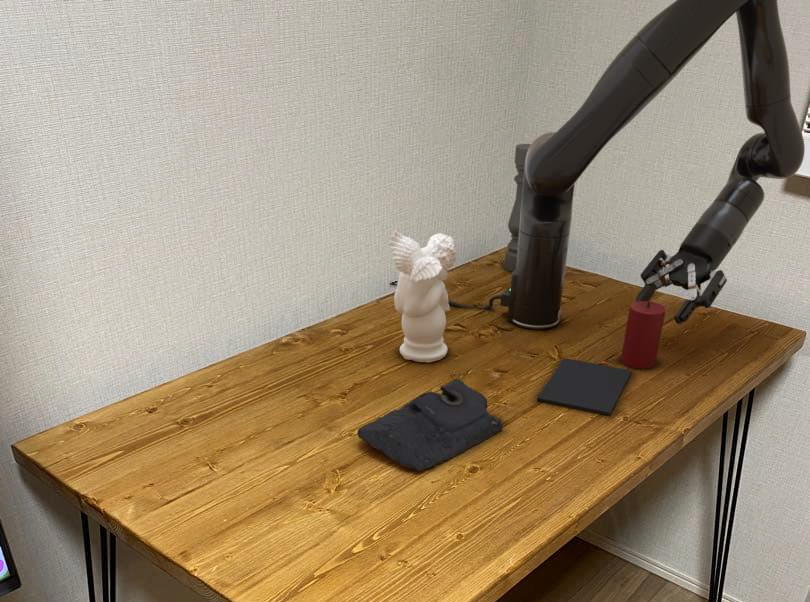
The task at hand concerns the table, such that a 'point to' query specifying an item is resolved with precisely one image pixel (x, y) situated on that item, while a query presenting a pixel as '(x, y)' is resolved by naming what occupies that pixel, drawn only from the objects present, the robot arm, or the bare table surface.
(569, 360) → the mat
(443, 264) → the cherub figurine
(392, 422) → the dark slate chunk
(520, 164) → the candle holder
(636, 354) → the candle
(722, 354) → the table surface
